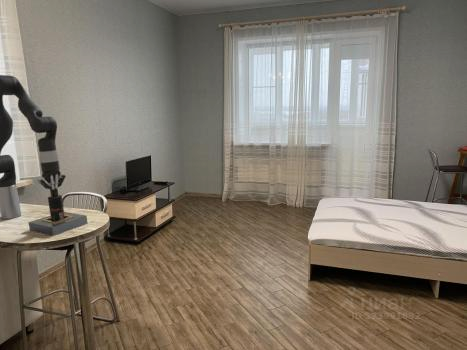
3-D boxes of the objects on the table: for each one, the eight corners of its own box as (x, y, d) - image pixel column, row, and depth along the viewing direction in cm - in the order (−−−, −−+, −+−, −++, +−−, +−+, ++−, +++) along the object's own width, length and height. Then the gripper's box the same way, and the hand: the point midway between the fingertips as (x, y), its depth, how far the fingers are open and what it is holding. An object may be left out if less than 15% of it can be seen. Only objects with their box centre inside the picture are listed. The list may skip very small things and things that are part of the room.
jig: (29, 230, 162) (28, 221, 161) (64, 218, 178) (63, 210, 177) (53, 235, 154) (51, 226, 153) (87, 223, 169) (86, 214, 168)
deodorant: (60, 229, 162) (56, 198, 159) (49, 228, 163) (44, 198, 160) (68, 224, 168) (64, 195, 165) (58, 224, 169) (53, 195, 166)
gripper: (57, 158, 167) (62, 192, 170) (30, 162, 155) (36, 199, 159) (67, 158, 163) (72, 194, 166) (40, 163, 152) (46, 201, 155)
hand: (54, 196), depth 163 cm, fingers closed
